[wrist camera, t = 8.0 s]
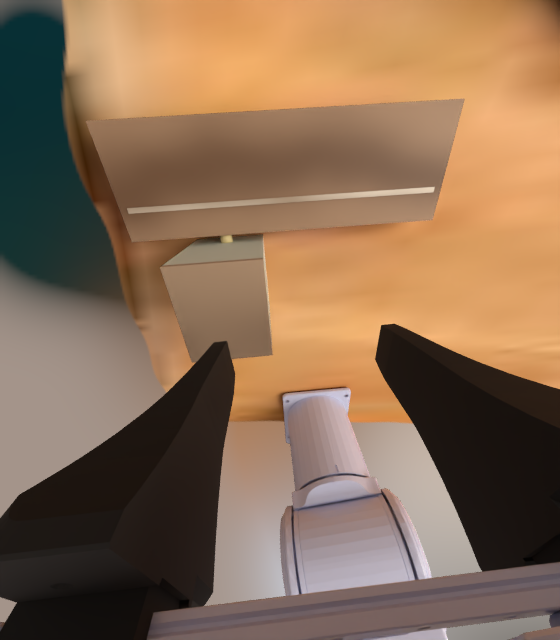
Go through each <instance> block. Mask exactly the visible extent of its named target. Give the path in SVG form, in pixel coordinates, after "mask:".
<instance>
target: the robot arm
mask: <svg viewBox="0 0 560 640" xmlns="http://www.w3.org/2000/svg"><path fill="white" fill-rule="evenodd" d="M375 360H376V362H377V364H378V367H379V369H380V371H381V373H382V375H383V377H384V379H385V380H386V382H387V384H388V385H389V387H390V388H391V390H392V391H393V393H394V394H395V396H396V398H397V399H398V401H399V402H400V404H401V405H402V407H403V408H404V410H405V411H406V413H407V414H408V416H409V417H410V419H411V420H412V422H413V424H414V425H415V427H416V429H417V431H418V432H419V434H420V436H421V438H422V440H423V442H424V444H425V446H426V448H427V450H428V451H429V453H430V455H431V457H432V460H433V461H434V463H435V466H436V467H437V470H438V472H439V474H440V476H441V478H442V480H443V482H444V484H445V486H446V489H447V491H448V493H449V495H450V498H451V500H452V502H453V504H454V506H455V509H456V511H457V513H458V516H459V518H460V520H461V523H462V525H463V527H464V529H465V532H466V535H467V537H468V539H469V542H470V544H471V547H472V549H473V552H474V554H475V557H476V559H477V562H478V564H479V566H480V568H481V570H482V572H476V573H468V574H460V575H451V576H443V577H436V578H432V576H431V572H430V568H429V565H428V562H427V559H426V556H425V553H424V550H423V548H422V545H421V542H420V540H419V537H418V535H417V533H416V530H415V528H414V526H413V523H412V521H411V519H410V517H409V515H408V513H407V511H406V510H405V508H404V506H403V504H402V503H401V501H400V500H399V499H398V497H396V496H395V495H394V494H393V493H391V492H390V490H388V489H386V488H385V489H380V488H379V485H378V483H377V480H376V478H375V477H370V474H369V472H368V468H367V466H366V463H365V461H364V458H363V455H362V452H361V450H360V448H359V445H358V442H357V439H356V437H355V434H354V431H353V429H352V426H351V423H350V421H349V418H348V408H349V401H350V394H351V391H350V389H349V388H337V389H327V390H316V391H306V392H295V393H286V394H284V395H283V410H284V422H285V435H286V442H287V443H289V444H290V446H291V455H292V464H293V473H294V482H295V491H294V492H292V499H293V506H287V508H286V509H285V513H284V514H283V516H282V518H281V526H280V549H281V563H282V573H283V581H284V588H285V593H286V596H283V597H275V598H266V599H258V600H250V601H243V602H234V603H227V604H218V605H211V606H204V605H205V604H206V602H207V601H208V599H209V598H210V596H211V595H212V593H213V582H214V561H215V543H216V527H217V512H218V499H219V487H220V475H221V466H222V456H223V448H224V442H225V436H226V431H227V426H228V421H229V416H230V411H231V406H232V401H233V395H234V385H235V371H234V367H233V363H232V359H231V355H230V351H229V347H228V342H227V341H221V342H214V343H213V344H212V345H211V346H210V347H209V348H208V349H207V351H206V352H205V353H204V354H203V355H202V356H201V358H200V359H199V360H198V361H197V362H196V363H195V364H194V365H193V367H192V368H191V369H190V370H189V371H188V372H187V373H186V374H185V375H184V376H183V377H182V378H181V379H180V380H179V381H178V382H177V383H176V384H175V385H174V386H173V387H172V388H171V389H170V390H169V391H168V392H167V393H166V394H165V395H164V396H163V397H162V398H160V399H159V400H158V401H157V402H156V403H155V404H153V405H152V406H151V407H150V408H149V409H148V410H146V411H145V412H144V413H143V414H141V415H140V416H139V417H137V418H136V419H135V420H133V421H132V422H131V423H130V424H128V425H127V426H126V427H124V428H123V429H122V430H120V431H119V432H118V433H116V434H115V435H114V436H112V437H111V438H109V439H108V440H106V441H105V442H103V443H102V444H101V445H99V446H98V447H96V448H95V449H93V450H92V451H90V452H89V453H87V454H86V455H84V456H83V457H81V458H79V459H78V460H76V461H75V462H73V463H72V464H70V465H69V466H67V467H65V468H63V469H62V470H60V471H58V472H57V473H55V474H53V475H52V476H50V477H48V478H47V479H45V480H43V481H42V482H40V483H39V484H37V485H35V486H34V487H32V488H30V489H28V490H27V491H25V492H23V493H21V494H20V495H19V496H18V497H17V498H16V499H15V501H14V502H13V503H12V504H11V506H10V507H9V508H8V509H7V511H6V512H5V513H4V514H3V516H2V517H1V518H0V597H2V598H5V599H8V600H11V601H14V602H17V604H16V606H15V607H14V609H13V611H12V612H11V614H10V616H9V617H8V619H7V620H6V622H5V623H4V622H0V640H448V638H447V635H446V628H450V627H457V626H465V625H473V624H480V623H489V622H496V621H504V620H511V619H520V618H527V617H535V616H543V615H550V620H549V621H550V625H551V628H549V629H543V630H537V631H532V632H526V633H523V634H521V635H519V636H518V637H515V638H512V639H509V640H560V389H557V388H553V387H550V386H547V385H543V384H540V383H537V382H534V381H531V380H527V379H524V378H521V377H518V376H515V375H512V374H509V373H506V372H504V371H501V370H498V369H496V368H493V367H490V366H487V365H485V364H482V363H480V362H477V361H475V360H472V359H470V358H468V357H465V356H463V355H461V354H458V353H456V352H454V351H451V350H449V349H447V348H445V347H443V346H441V345H439V344H436V343H434V342H432V341H430V340H428V339H426V338H424V337H422V336H420V335H418V334H416V333H414V332H412V331H410V330H407V329H405V328H403V327H401V326H399V325H396V324H388V325H381V330H380V335H379V341H378V347H377V352H376V358H375ZM551 614H552V615H551Z"/></svg>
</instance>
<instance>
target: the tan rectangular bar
mask: <svg viewBox="0 0 560 640" xmlns="http://www.w3.org/2000/svg"><path fill="white" fill-rule="evenodd" d="M463 103H464V99H451V100H434V101H416V102H399V103H382V104H365V105H348V106H331V107H314V108H297V109H280V110H263V111H246V112H229V113H211V114H194V115H177V116H160V117H143V118H126V119H109V120H92V121H86V123H87V126H88V128H89V131H90V134H91V136H92V139H93V141H94V144H95V147H96V149H97V152H98V155H99V157H100V160H101V162H102V165H103V168H104V170H105V173H106V175H107V178H108V181H109V183H110V186H111V189H112V191H113V194H114V196H115V199H116V202H117V204H118V207H119V209H120V212H121V215H122V217H123V220H124V223H125V225H126V228H127V230H128V233H129V236H130V238H131V241H132V242H143V241H156V240H170V239H183V238H196V237H210V236H223V235H237V234H250V233H264V232H277V231H291V230H304V229H318V228H331V227H345V226H358V225H372V224H385V223H399V222H412V221H426V220H433V216H434V212H435V209H436V205H437V201H438V197H439V194H440V190H441V186H442V182H443V179H444V175H445V171H446V167H447V163H448V160H449V156H450V152H451V148H452V145H453V141H454V137H455V133H456V129H457V126H458V122H459V118H460V114H461V111H462V107H463Z"/></svg>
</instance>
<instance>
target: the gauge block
mask: <svg viewBox="0 0 560 640" xmlns="http://www.w3.org/2000/svg"><path fill="white" fill-rule="evenodd" d="M160 270H161V273H162V276H163V279H164V281H165V284H166V287H167V290H168V293H169V296H170V299H171V302H172V305H173V308H174V311H175V314H176V317H177V320H178V323H179V326H180V329H181V332H182V334H183V337H184V340H185V343H186V346H187V349H188V352H189V355H190V358H191V361H192V362H197V361H198V360H199V359H200V358H201V356H202V355H203V354H204V353H205V352H206V351H207V349H208V348H209V347H210V346H211V345H212V344H213V343H214V342H221V341H227V342H228V347H229V351H230V355H231V359H236V358H247V357H258V356H269V355H273V354H272V338H271V322H270V306H269V295H268V284H267V273H266V262H265V251H264V241H263V235H249V236H236V237H232V235H223V236H220V238H209V239H197V240H196V241H195V242H193V243H192V244H191V245H189V246H188V247H187V248H185V249H184V250H183V251H181V252H180V253H178V254H177V255H176V256H174V257H173V258H172V259H170V260H169V261H168V262H166V263H165V264H164V265H162V266H161V267H160Z"/></svg>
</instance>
